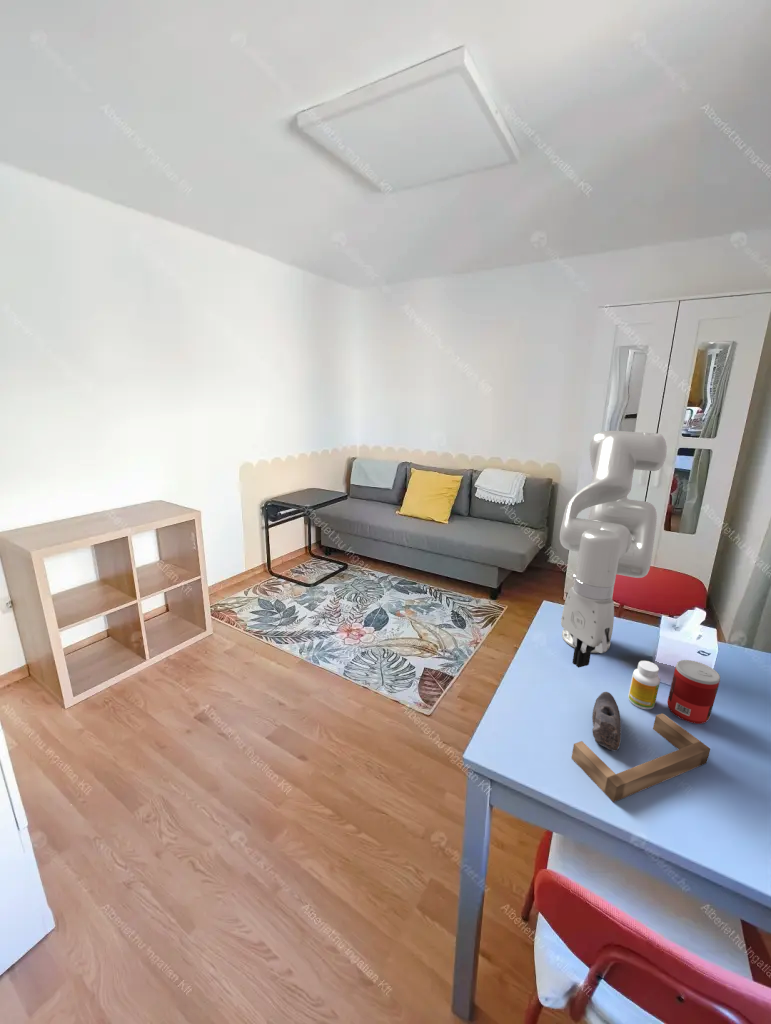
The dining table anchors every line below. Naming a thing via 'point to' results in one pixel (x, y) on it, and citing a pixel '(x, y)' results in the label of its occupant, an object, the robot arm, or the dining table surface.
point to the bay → (647, 773)
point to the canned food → (693, 691)
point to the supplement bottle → (644, 685)
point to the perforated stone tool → (606, 722)
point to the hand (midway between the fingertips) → (580, 664)
